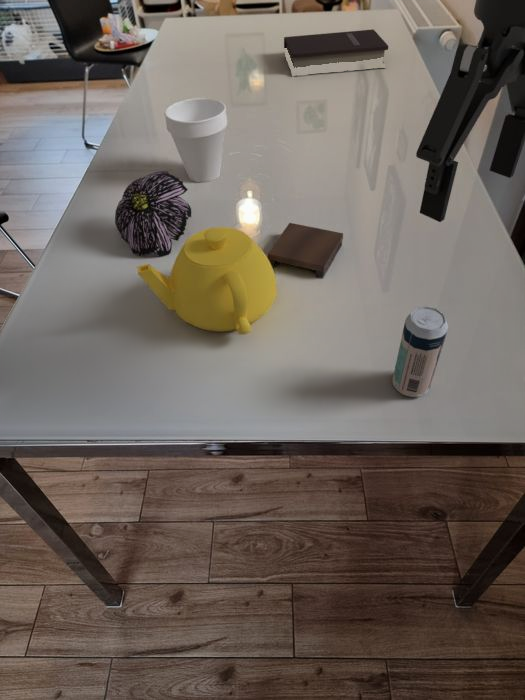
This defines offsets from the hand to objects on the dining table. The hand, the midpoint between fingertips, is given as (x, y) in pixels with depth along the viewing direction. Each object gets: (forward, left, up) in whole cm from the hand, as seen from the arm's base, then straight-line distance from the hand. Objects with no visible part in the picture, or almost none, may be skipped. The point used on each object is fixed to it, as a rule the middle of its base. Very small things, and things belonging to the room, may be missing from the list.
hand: (468, 194), depth 58 cm
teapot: (+31, +8, -21) cm, 39 cm away
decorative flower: (+51, -6, -21) cm, 56 cm away
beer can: (0, +12, -21) cm, 25 cm away
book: (+51, -107, -21) cm, 120 cm away
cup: (+54, -30, -21) cm, 66 cm away
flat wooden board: (+23, -10, -21) cm, 33 cm away
